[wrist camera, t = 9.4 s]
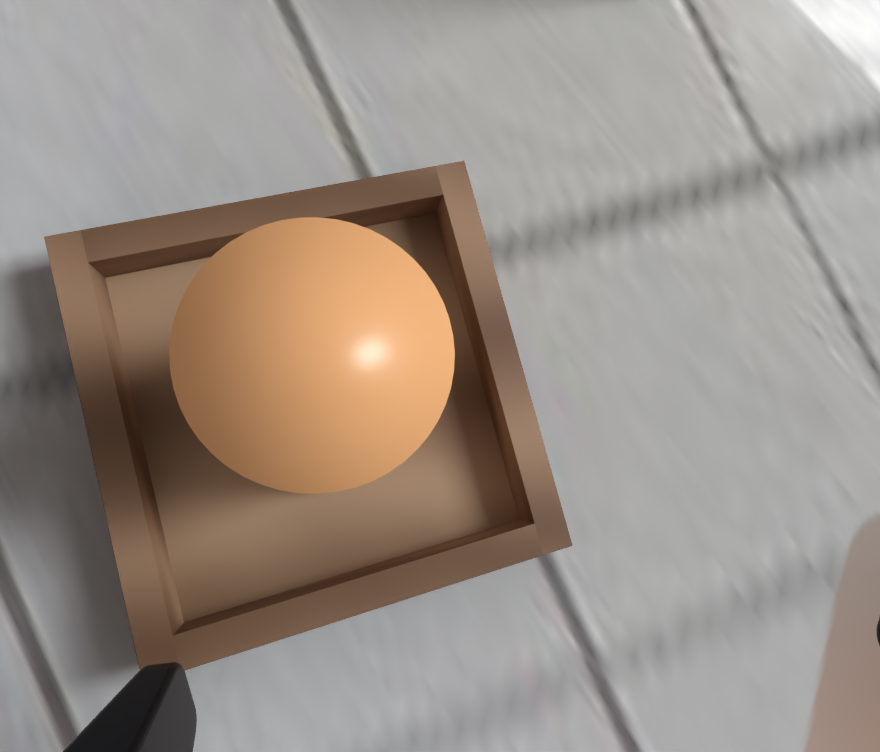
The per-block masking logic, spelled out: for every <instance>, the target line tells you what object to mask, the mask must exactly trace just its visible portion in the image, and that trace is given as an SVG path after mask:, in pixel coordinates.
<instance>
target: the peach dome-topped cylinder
mask: <svg viewBox="0 0 880 752" xmlns="http://www.w3.org/2000/svg"><path fill="white" fill-rule="evenodd" d="M169 358H170V372H171V378H172V384H173V389H174V392H175V395H176V398H177V401H178V404H179V407H180V409H181V411H182V413H183V415H184V417H185V419H186V421H187V423H188V424H189V426H190V427H191V429H192V430H193V432H194V433H195V435H196V436H197V438H198V439H199V440H200V441H201V442H202V443H203V445H204V446H205V447H206V448H207V449H208V450H209V451H210V452H211V453H212V454H213V455H214V456H215V457H216V458H218V459H219V460H220V461H221V462H222V463H223V464H225V465H226V466H227V467H229V468H230V469H232V470H234V471H235V472H237V473H238V474H240V475H241V476H243V477H245V478H248V479H250V480H252V481H254V482H256V483H258V484H261V485H264V486H267V487H271V488H274V489H277V490H282V491H288V492H293V493H305V494H322V493H332V492H339V491H343V490H348V489H352V488H356V487H358V486H361V485H364V484H366V483H369V482H372V481H374V480H376V479H378V478H380V477H381V476H383V475H385V474H387V473H389V472H390V471H392V470H393V469H395V468H396V467H397V466H399V465H400V464H402V463H403V462H404V461H405V460H407V459H408V458H409V457H410V456H411V455H412V454H413V453H414V452H415V451H416V450H417V449H418V448H419V447H420V446H421V445H422V443H423V442H424V441H425V440H426V439H427V437H428V436H429V435H430V433H431V432H432V430H433V428H434V427H435V425H436V424H437V422H438V420H439V418H440V416H441V414H442V412H443V410H444V407H445V405H446V402H447V399H448V396H449V393H450V390H451V385H452V380H453V374H454V360H455V349H454V338H453V332H452V328H451V323H450V319H449V316H448V313H447V310H446V308H445V305H444V302H443V300H442V298H441V296H440V294H439V292H438V290H437V289H436V287H435V285H434V284H433V282H432V281H431V279H430V278H429V276H428V275H427V273H426V272H425V271H424V270H423V269H422V268H421V266H420V265H419V264H418V263H417V262H416V261H415V260H414V259H413V258H412V257H411V256H410V255H409V254H408V253H406V252H405V251H404V250H403V249H402V248H401V247H399V246H398V245H396V244H395V243H393V242H392V241H390V240H389V239H387V238H386V237H384V236H382V235H380V234H378V233H376V232H374V231H372V230H370V229H368V228H365V227H362V226H360V225H357V224H354V223H350V222H346V221H342V220H337V219H330V218H320V217H304V218H293V219H286V220H280V221H277V222H273V223H269V224H266V225H263V226H260V227H258V228H255V229H253V230H251V231H248V232H246V233H244V234H243V235H241V236H239V237H237V238H236V239H234V240H232V241H231V242H229V243H228V244H227V245H225V246H224V247H223V248H221V249H220V250H219V251H217V252H216V253H215V254H214V255H213V256H212V257H211V258H210V259H209V260H208V261H207V262H206V263H205V264H204V265H203V266H202V268H201V269H200V270H199V271H198V273H197V274H196V275H195V277H194V278H193V279H192V281H191V282H190V284H189V286H188V288H187V289H186V291H185V293H184V295H183V297H182V299H181V302H180V304H179V307H178V309H177V312H176V314H175V318H174V322H173V326H172V330H171V338H170V348H169Z"/></svg>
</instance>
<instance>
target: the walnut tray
mask: <svg viewBox="0 0 880 752" xmlns="http://www.w3.org/2000/svg"><path fill="white" fill-rule="evenodd" d="M304 217H320V218H330V219H337V220H342V221H346V222H350V223H354V224H357V225H360V226H362V227H365V228H368V229H370V230H372V231H374V232H376V233H378V234H380V235H382V236H384V237H386V238H387V239H389V240H390V241H392V242H393V243H395V244H396V245H398V246H399V247H401V248H402V249H403V250H404V251H405V252H406V253H408V254H409V255H410V256H411V257H412V258H413V259H414V260H415V261H416V262H417V263H418V264H419V265H420V266H421V268H422V269H423V270H424V271H425V272H426V273H427V275H428V276H429V278H430V279H431V281H432V282H433V284H434V285H435V287H436V289H437V290H438V292H439V294H440V296H441V298H442V300H443V302H444V305H445V308H446V310H447V313H448V316H449V319H450V323H451V328H452V332H453V338H454V349H455V360H454V374H453V380H452V385H451V390H450V393H449V396H448V399H447V402H446V405H445V407H444V410H443V412H442V414H441V416H440V418H439V420H438V422H437V424H436V425H435V427H434V428H433V430H432V432H431V433H430V435H429V436H428V437H427V439H426V440H425V441H424V442H423V443H422V445H421V446H420V447H419V448H418V449H417V450H416V451H415V452H414V453H413V454H412V455H411V456H410V457H409V458H408V459H407V460H405V461H404V462H403V463H402V464H400V465H399V466H397V467H396V468H395V469H393V470H392V471H390V472H389V473H387V474H385V475H383V476H381V477H380V478H378V479H376V480H374V481H372V482H369V483H366V484H364V485H361V486H358V487H356V488H352V489H348V490H343V491H339V492H332V493H322V494H305V493H293V492H288V491H282V490H277V489H274V488H271V487H267V486H264V485H261V484H258V483H256V482H254V481H252V480H250V479H248V478H245V477H243V476H241V475H240V474H238V473H237V472H235V471H234V470H232V469H230V468H229V467H227V466H226V465H225V464H223V463H222V462H221V461H220V460H219V459H218V458H216V457H215V456H214V455H213V454H212V453H211V452H210V451H209V450H208V449H207V448H206V447H205V446H204V445H203V443H202V442H201V441H200V440H199V439H198V438H197V436H196V435H195V433H194V432H193V430H192V429H191V427H190V426H189V424H188V423H187V421H186V419H185V417H184V415H183V413H182V411H181V409H180V407H179V404H178V401H177V398H176V395H175V392H174V389H173V384H172V378H171V372H170V358H169V348H170V338H171V330H172V326H173V322H174V318H175V314H176V312H177V309H178V307H179V304H180V302H181V299H182V297H183V295H184V293H185V291H186V289H187V288H188V286H189V284H190V282H191V281H192V279H193V278H194V277H195V275H196V274H197V273H198V271H199V270H200V269H201V268H202V266H203V265H204V264H205V263H206V262H207V261H208V260H209V259H210V258H211V257H212V256H213V255H214V254H215V253H216V252H217V251H219V250H220V249H221V248H223V247H224V246H225V245H227V244H228V243H229V242H231V241H232V240H234V239H236V238H237V237H239V236H241V235H243V234H244V233H246V232H248V231H251V230H253V229H255V228H258V227H260V226H263V225H266V224H269V223H273V222H277V221H280V220H286V219H293V218H304ZM44 238H45V243H46V247H47V252H48V257H49V261H50V266H51V270H52V275H53V279H54V284H55V288H56V293H57V297H58V302H59V306H60V311H61V315H62V320H63V324H64V329H65V333H66V338H67V342H68V347H69V351H70V356H71V361H72V365H73V370H74V374H75V379H76V383H77V388H78V392H79V397H80V401H81V406H82V410H83V415H84V419H85V424H86V428H87V433H88V437H89V442H90V446H91V451H92V456H93V460H94V465H95V469H96V474H97V478H98V483H99V487H100V492H101V496H102V501H103V505H104V510H105V514H106V519H107V523H108V528H109V532H110V537H111V541H112V546H113V550H114V555H115V560H116V564H117V569H118V573H119V578H120V582H121V587H122V591H123V596H124V600H125V605H126V609H127V614H128V618H129V623H130V627H131V632H132V636H133V641H134V645H135V650H136V654H137V659H138V664H139V668H140V670H141V669H142V668H144V667H145V666H148V665H153V664H162V663H171V662H177V663H180V664H181V665H182V667H183V669H184V670H187V669H190V668H193V667H197V666H200V665H203V664H206V663H209V662H212V661H215V660H218V659H221V658H224V657H228V656H231V655H234V654H237V653H240V652H243V651H246V650H249V649H252V648H256V647H259V646H262V645H265V644H268V643H271V642H274V641H277V640H280V639H284V638H287V637H290V636H293V635H296V634H299V633H302V632H305V631H308V630H312V629H315V628H318V627H321V626H324V625H327V624H330V623H333V622H336V621H340V620H343V619H346V618H349V617H352V616H355V615H358V614H361V613H364V612H368V611H371V610H374V609H377V608H380V607H383V606H386V605H389V604H392V603H396V602H399V601H402V600H405V599H408V598H411V597H414V596H417V595H420V594H424V593H427V592H430V591H433V590H436V589H439V588H442V587H445V586H448V585H452V584H455V583H458V582H461V581H464V580H467V579H470V578H473V577H476V576H480V575H483V574H486V573H489V572H492V571H495V570H498V569H501V568H504V567H508V566H511V565H514V564H517V563H520V562H523V561H526V560H529V559H532V558H535V557H539V556H542V555H545V554H548V553H551V552H554V551H557V550H560V549H563V548H567V547H570V546H572V542H571V539H570V535H569V532H568V528H567V525H566V521H565V518H564V514H563V511H562V507H561V503H560V500H559V496H558V493H557V489H556V486H555V482H554V479H553V475H552V471H551V468H550V464H549V461H548V457H547V454H546V450H545V447H544V443H543V439H542V436H541V432H540V429H539V425H538V422H537V418H536V415H535V411H534V407H533V404H532V400H531V397H530V393H529V390H528V386H527V383H526V379H525V376H524V372H523V368H522V365H521V361H520V358H519V354H518V351H517V347H516V344H515V340H514V336H513V333H512V329H511V326H510V322H509V319H508V315H507V312H506V308H505V304H504V301H503V297H502V294H501V290H500V287H499V283H498V280H497V276H496V272H495V269H494V265H493V262H492V258H491V255H490V251H489V248H488V244H487V241H486V237H485V233H484V230H483V226H482V223H481V219H480V216H479V212H478V209H477V205H476V201H475V198H474V194H473V191H472V187H471V184H470V180H469V177H468V173H467V169H466V166H465V162H464V161H461V162H455V163H450V164H444V165H439V166H433V167H428V168H422V169H417V170H411V171H406V172H400V173H395V174H389V175H383V176H378V177H372V178H367V179H361V180H356V181H350V182H345V183H339V184H334V185H328V186H323V187H317V188H312V189H306V190H301V191H295V192H289V193H284V194H278V195H273V196H267V197H262V198H256V199H251V200H245V201H240V202H234V203H229V204H223V205H218V206H212V207H207V208H201V209H195V210H190V211H184V212H179V213H173V214H168V215H162V216H157V217H151V218H146V219H140V220H135V221H129V222H124V223H118V224H113V225H107V226H102V227H96V228H90V229H85V230H79V231H74V232H68V233H63V234H57V235H52V236H46V237H44Z"/></svg>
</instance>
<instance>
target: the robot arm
mask: <svg viewBox="0 0 880 752" xmlns="http://www.w3.org/2000/svg"><path fill="white" fill-rule="evenodd" d="M877 638H878V642H879V645H880V618H879V621H878V624H877ZM196 722H197V720H196V709H195V705H194V702H193V698H192V695H191V691H190V688H189V684H188V681H187V678H186V674H185V671H184V669H183V667H182V665H181V664H180V663H177V662H171V663H162V664H153V665H148V666H145V667H144V668H142V669H141V670H140V671H139V672H138V673H137V674H136V675H135V676H134V677H133V678H132V679H131V680H130V681H129V682H128V683H127V684H126V686H125V687H124V688H123V689H122V690H121V691H120V692H119V693H118V694H117V695H116V696H115V697H114V698H113V699H112V700H111V701H110V702H109V703H108V705H107V706H106V707H105V708H104V709H103V710H102V711H101V712H100V713H99V714H98V715H97V716H96V717H95V718H94V719H93V720H92V721H91V722H90V724H89V725H88V726H87V727H86V728H85V729H84V730H83V731H82V732H81V733H80V734H79V735H78V736H77V737H76V738H75V739H74V740H73V741H72V743H71V744H70V745H69V746H68V747H67V748H66V749H65V750H64V751H63V752H193V746H194V739H195V733H196Z"/></svg>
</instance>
